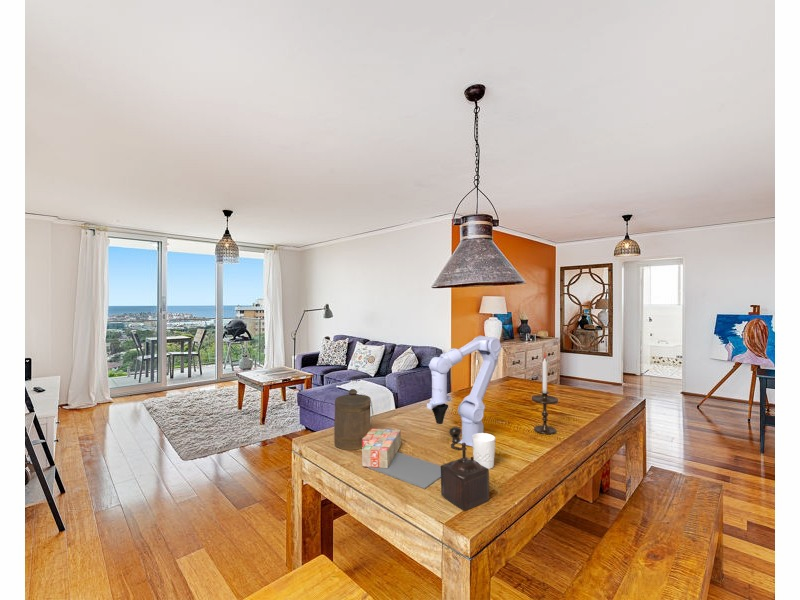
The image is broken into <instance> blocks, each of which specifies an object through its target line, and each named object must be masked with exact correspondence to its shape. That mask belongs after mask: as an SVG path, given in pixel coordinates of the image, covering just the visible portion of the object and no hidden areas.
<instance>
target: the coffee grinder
mask: <svg viewBox="0 0 800 600" xmlns="http://www.w3.org/2000/svg"><path fill="white" fill-rule="evenodd" d="M448 433H449V435H450V436H451V438H452V440H451V442H452V443H451V444H450V448H451V449H452V450H455V451H461V452H462V457H460V458H457V459H455V460H452V461H449V462H447V463H443V464H441V465H440V466H441V478H440V491H441V492H440V493H441V494H440V495H441V497H442V498H443V499H444V500H446V501H448V502H450V504H453V506H455V507H456V508H459V509H460V510H461V511H463V512H465V511H469V510H471V509H473V508H475V507H478V506H480V505H482V504H485V503H487V502H489V500H490V474H489V473H490V472H489V471H490V469H488V468H486V467H484V466H482V465H480V464H479V463H478V462H477V461H475V460H474V456H471V457H470V458H468V457H466V456H467V455H466V451H467V447H466V446H467V445H466V443H464V442H463V443H462V444H461V447H458V446H456V445H458V444H459V443H458V442H460V441H461V439H460V436H461V435H462V428H460V427H458V426H453V427H451V428H450V429H449V431H448Z"/></svg>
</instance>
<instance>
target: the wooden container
mask: <svg viewBox="0 0 800 600" xmlns="http://www.w3.org/2000/svg"><path fill="white" fill-rule="evenodd" d="M371 403H372V401H371V397H370V396H368V395H366V394H360V393H359V394H358V391H357V389H356V388H351V389H349V390H348V394H344V395H340V396H337V397H336V398H335V399H334V421H333V422H334V425H333V427H334V428H333V429H334V431H333V433H334V437H333V438H334V446H335V447H336V448H338V449H341V450H345V451H353V450H354V451H356V450H362V439H363V438H364V437H365V436H366V435H367V433H368V432H369V431H370V430H371V429H372V419H371V418H372V417H371V415H372V414H371V412H372V411H371V406H372V405H371Z"/></svg>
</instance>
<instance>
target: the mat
mask: <svg viewBox="0 0 800 600" xmlns="http://www.w3.org/2000/svg"><path fill="white" fill-rule="evenodd" d="M367 469H369V470H373V471H375V472H378V473H381V474H384V475H385V476H388V477H391V478H393V479H394V478H395V479H396V480H400V481H401V482H404V483H407V484H410V485H413V486H415V487H418V488H420V489H423V490H426V489H428V488H429V487H430V486H431V485H433V484H434V483H435V482H437V481H439V480H441V465H440V464H437V463H434V462H430V461H427V460H424V459H421V458H419V457H414V456H412V455H408V454H405V453H402V452H399V451H397V453H396V454H395V456H394V458H393V459H392V461H391V463H390V465H389V467H388V468H376V467H367Z"/></svg>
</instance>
